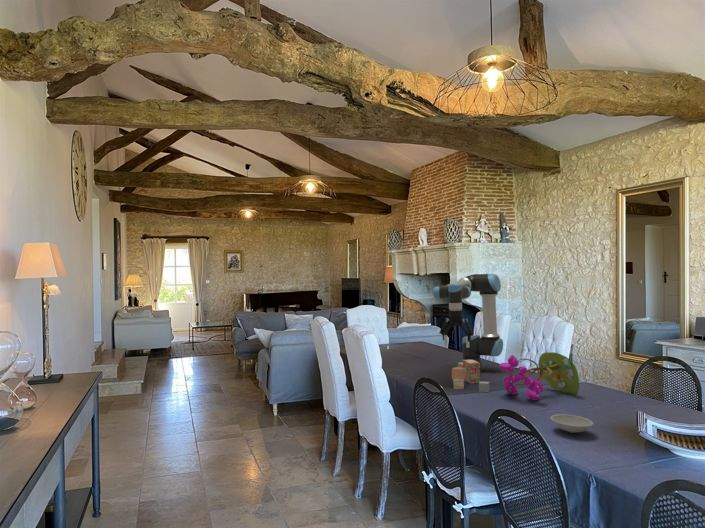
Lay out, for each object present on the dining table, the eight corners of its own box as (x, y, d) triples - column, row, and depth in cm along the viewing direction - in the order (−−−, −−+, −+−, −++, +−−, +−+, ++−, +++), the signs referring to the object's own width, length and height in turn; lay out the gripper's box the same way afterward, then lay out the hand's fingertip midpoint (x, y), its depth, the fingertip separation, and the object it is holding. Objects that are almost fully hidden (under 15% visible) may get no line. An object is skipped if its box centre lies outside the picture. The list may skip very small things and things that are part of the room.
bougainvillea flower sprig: (572, 338, 260) (520, 353, 247) (591, 393, 254) (539, 412, 241) (534, 346, 287) (484, 360, 273) (550, 396, 281) (501, 413, 268)
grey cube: (480, 390, 280) (480, 381, 280) (489, 390, 278) (489, 381, 278) (479, 392, 275) (479, 383, 276) (488, 392, 274) (488, 383, 274)
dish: (542, 428, 208) (541, 416, 209) (571, 424, 213) (570, 412, 213) (572, 441, 192) (571, 428, 192) (603, 437, 196) (602, 424, 196)
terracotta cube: (455, 377, 293) (455, 366, 293) (465, 378, 290) (465, 367, 290) (451, 379, 288) (451, 368, 288) (461, 380, 285) (461, 369, 285)
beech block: (454, 385, 294) (454, 377, 294) (464, 386, 292) (464, 377, 292) (453, 389, 285) (453, 380, 285) (463, 389, 284) (463, 380, 284)
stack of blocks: (457, 377, 318) (457, 357, 319) (466, 376, 319) (466, 357, 320) (470, 384, 297) (470, 363, 298) (480, 383, 298) (480, 362, 299)
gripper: (433, 310, 297) (434, 346, 296) (473, 310, 283) (475, 348, 282) (438, 309, 303) (439, 344, 303) (478, 310, 289) (479, 347, 288)
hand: (456, 346), depth 292 cm, fingers open, 13 cm apart
